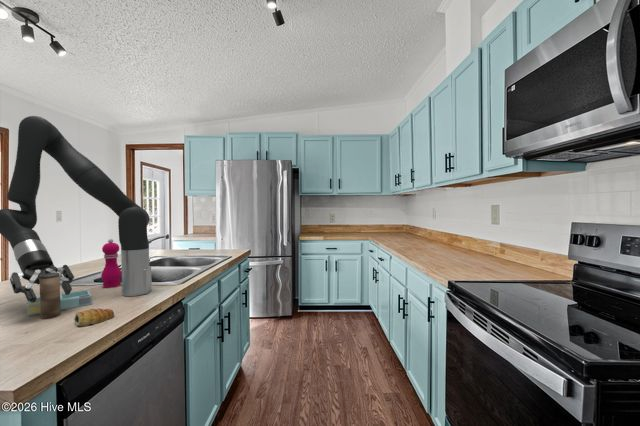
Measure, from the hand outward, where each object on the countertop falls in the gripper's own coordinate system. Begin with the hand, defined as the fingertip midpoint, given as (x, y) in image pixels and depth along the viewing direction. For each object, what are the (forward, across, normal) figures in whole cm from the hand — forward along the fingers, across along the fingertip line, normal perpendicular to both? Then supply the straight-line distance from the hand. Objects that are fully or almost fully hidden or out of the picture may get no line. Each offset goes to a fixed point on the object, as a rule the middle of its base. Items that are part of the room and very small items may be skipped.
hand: (52, 296), depth 92 cm
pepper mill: (-11, +29, +20) cm, 37 cm away
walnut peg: (+4, 0, +5) cm, 6 cm away
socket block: (-3, +6, +12) cm, 13 cm away
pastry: (+15, +3, -6) cm, 17 cm away
